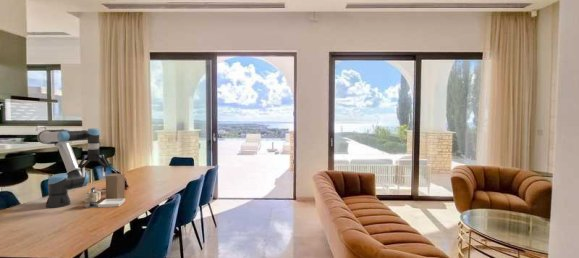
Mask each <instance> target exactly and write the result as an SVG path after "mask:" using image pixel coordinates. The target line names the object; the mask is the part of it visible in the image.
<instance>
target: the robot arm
mask: <svg viewBox="0 0 579 258" xmlns="http://www.w3.org/2000/svg"><path fill="white" fill-rule="evenodd" d="M36 138H37V141H38V142H39V143H41V144H44V145H54V147H55V148H57V149H58V151H59V154H60V156H61V159H62V161H63V164H64V166H65V167H64V168H65V169H66V173H65V172H64V173H57V174H53V175H51V176H49V177H48V181H47V185H48V187H47V189H48V197H47V200H46V202H45V207H46V208H49V209H52V208H53V209H55V208H62V207H66V206H69V205H70V204H71V203H72V201H71V198H70V197H69V194H68V193H69V192H68V191H70V190H75V189H79V188H80V189H81V188H84V187H86V186H88V183H90V182H89V181H90V176H89V173H88V172H87V171H86V167H85V166H87V164H88V163H90V162H97V163H99V165H101V167H102V177H106V172H107V168H108V167H110V166H109V162H108V161H107V159H106V157H105V155H104V154H101V155H100V129H99V128H93V127H92V128H88V129H87V130H85V129H83V130H82V129H81V130H68V129H64V128H61V129H46V130H41V131H40V132H39V133H38V134H37V136H36ZM79 141H87V154H84V155H82V158H81V160H80V162H78V160H77V158H76V156H75V152H74V150H73V147H72V143H73V142H79ZM100 158H101V159H100ZM86 159H87V160H86ZM85 160H86V161H85Z"/></svg>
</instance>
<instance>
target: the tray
mask: <svg viewBox="0 0 579 258" xmlns="http://www.w3.org/2000/svg"><path fill="white" fill-rule="evenodd" d="M125 202H126V198H125V197H123V198H121V199H106V198H105V199H104V200H102V201H100V202H98V203H99V204H98V207H97V208H112V207H113V208H117V206H119V207H120V206H121V205H122V204H123V203H125Z"/></svg>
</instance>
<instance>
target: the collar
mask: <svg viewBox="0 0 579 258" xmlns="http://www.w3.org/2000/svg"><path fill="white" fill-rule="evenodd" d="M101 194H102V193H101V191H94V193H91V191H88V192H86V193H85V194H84V203H90V202H96V203H98V201H100V200H101V197H102V196H101Z"/></svg>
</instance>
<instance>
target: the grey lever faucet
mask: <svg viewBox="0 0 579 258" xmlns="http://www.w3.org/2000/svg"><path fill="white" fill-rule="evenodd" d="M95 189H96V187H95V186H93V187H91V188H90V192H91V193H94V192H95ZM99 203H100V202H88V203H87V204H86V205H84V206H83V209H89V208H99V207H98V204H99Z"/></svg>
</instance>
